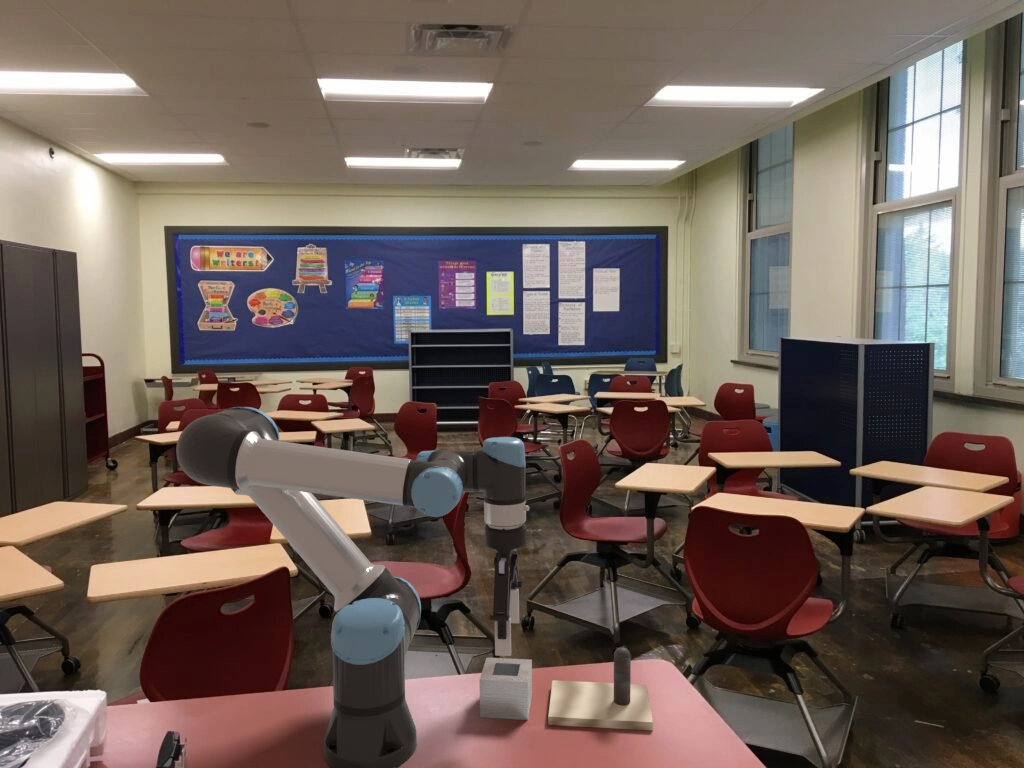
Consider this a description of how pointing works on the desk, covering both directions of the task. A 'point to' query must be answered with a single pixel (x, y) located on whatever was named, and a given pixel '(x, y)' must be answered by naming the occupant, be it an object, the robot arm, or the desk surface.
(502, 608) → the robot arm
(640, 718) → the board
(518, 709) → the gray cube
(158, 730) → the desk surface
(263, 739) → the desk surface
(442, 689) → the desk surface
